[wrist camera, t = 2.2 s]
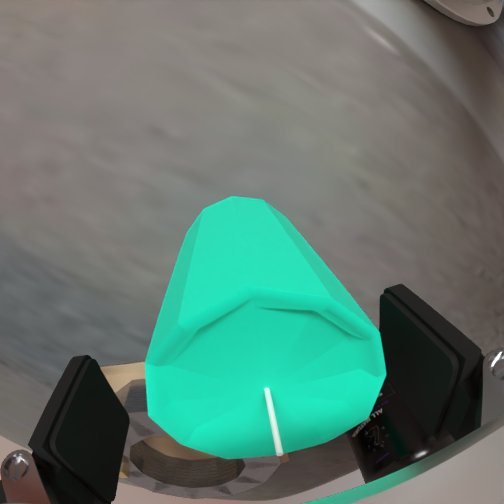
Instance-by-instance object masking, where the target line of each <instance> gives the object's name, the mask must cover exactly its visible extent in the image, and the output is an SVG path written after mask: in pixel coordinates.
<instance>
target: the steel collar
mask: <svg viewBox="0 0 504 504" xmlns="http://www.w3.org/2000/svg"><path fill="white" fill-rule="evenodd" d="M115 394H116V396H117V397H118V399H119V400H120V402H121V404H122V405H123V407H124V408H125V410H126V411H127V413H128V415H129V418H130V424H129V429H128V433H127V438H126V443H125V448H124V452H123V457H122V463H121V468H120V473H119V478H124V479H126V480H128V481H130V482H132V483H135V484H137V485H139V486H141V487H143V488H146V489H148V490H150V491H153V492H156V493H161V494H167V495H172V496H178V497H184V498H192V499H198V498H199V499H200V498H215V497H226V496H233V495H236V494H239V493H241V492H244V491H247V490H249V489H252V488H254V487H257V486H259V485H262V484H264V483H265V482H266V481H267V480H268V479H269V477H270V476H271V475H272V474H273V473H274V472H275V470H276V469H277V468H278V467H279V466H280V464H281V460H280V456H277V455H274V456H265V457H254V458H241V459H225V458H221V457H216V458H209V459H198V460H189V459H183V458H177V457H172V456H167V455H165V454H163V453H161V452H159V451H158V450H156V449H154V448H152V447H150V446H148V445H147V444H146V443H145V442H144V441H143V439H145V438H147V437H148V436H162V435H169V434H168V433H167V432H166V431H164V430H163V429H162V428H161V427H160V426H159V425H158V424H156V423H155V422H154V421H153V420H152V419H151V418H150V417H149V416H148V407H147V393H146V378H145V379H136V380H131V381H130V382H129V383H128V384H126V385H125V386H124V387H122V388H121V389H120V390H119V391H117V392H116V393H115Z"/></svg>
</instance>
